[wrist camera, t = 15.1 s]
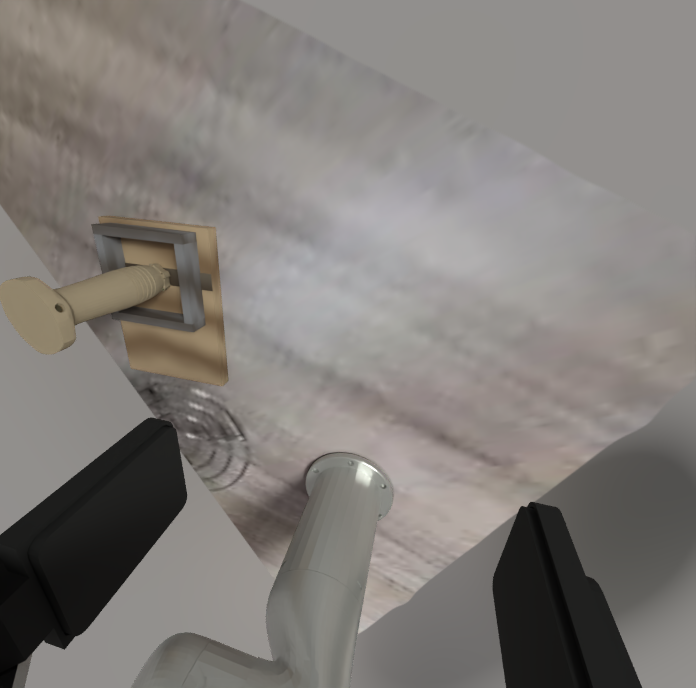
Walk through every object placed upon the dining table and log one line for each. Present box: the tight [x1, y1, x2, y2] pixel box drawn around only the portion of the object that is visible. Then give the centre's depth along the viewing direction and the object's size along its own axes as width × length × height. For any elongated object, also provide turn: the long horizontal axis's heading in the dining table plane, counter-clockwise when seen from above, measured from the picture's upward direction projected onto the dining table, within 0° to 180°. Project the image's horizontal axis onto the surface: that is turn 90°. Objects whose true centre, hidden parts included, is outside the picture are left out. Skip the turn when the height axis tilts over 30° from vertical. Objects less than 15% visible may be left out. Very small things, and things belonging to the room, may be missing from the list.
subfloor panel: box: [91, 216, 228, 386], centre depth 43 cm, size 20×14×4 cm
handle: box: [0, 263, 170, 354], centre depth 35 cm, size 5×6×15 cm
